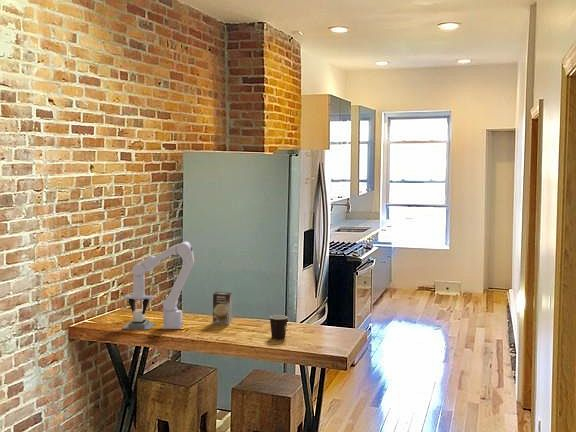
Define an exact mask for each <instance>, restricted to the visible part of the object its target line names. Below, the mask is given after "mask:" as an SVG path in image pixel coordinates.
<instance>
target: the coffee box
mask: <svg viewBox="0 0 576 432" xmlns="http://www.w3.org/2000/svg"><path fill="white" fill-rule="evenodd" d="M212 296H213V297H212V322H211V323H212V325H220V326H221V325H222V326H230V325H231V323H232V304H233V301H232V299H233V297H232V296H233V292H228V291H227V292H226V291H214V292H213V294H212Z"/></svg>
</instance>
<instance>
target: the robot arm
mask: <svg viewBox="0 0 576 432" xmlns="http://www.w3.org/2000/svg"><path fill="white" fill-rule="evenodd" d="M177 255H178V256H180V258H181V259H182V261H183V264H182V267H181V269H180V271H179V272H178V275H177V277H176V279H175V281H174V284H173V285H172V288H171V290H170V292H169V294H168V296H167V297H166V299H164V300H163V302H162V307H163V309H162V313H163V314H162V315H163V317H162V319H163V323H162V326H161V327H160V329H163V330H164V329H167V330H168V329H169V330H173V329H174V330H181V328H182V327H183V310H181V309H178V306H177V305H178V304H179V297H180V294H181V292H182V291H183V288H184V286H185V283H186V281H187V279H188V277H189V275H190V274H191V273H190V272H191V271H192V268H193V267H194V264H195V254H194V247H193V246H192V244H191V243H190V242H189V241H186V240H185V241H182V242H180V243H177V244H174V245H171V247H169V248H167V249H165V250H163V251H162V252H161V253H158V254H157V255H156V256H155V255H148V256H146V258H145V259H143V260H140V261H139V263H137V264H135V265H134V266H132V269H131V272H132V274H133V275H132V276H133V279H132V282H133V283H132V285H133V287H132V288H133V289H132V294H129V295H127V294H125V295H124V296H123V300H125V301H126V300H127V302H128V305H129V306H130V308H131V309H130V310H131V312H132V314H133V311H134V310H135V309H136V300H137V301H140V300H141V301H142V309H143V314H145V315H146V311H147V307H148V304H149V302H150V301H154V300H155V299H154V295H146V294H145V293H146V288H145V287H146V284H145V283H146V280H145V279H146V278H145V273H146V272H148V271H150V270H152V269H154V268H156V267H158V266H159V263H160V262H161V261H163V260H164V259H166V258H168V257H170V256H177Z"/></svg>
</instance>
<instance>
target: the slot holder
mask: <svg viewBox="0 0 576 432" xmlns="http://www.w3.org/2000/svg"><path fill="white" fill-rule="evenodd" d="M154 324H155V325H156V322H153V321H152V322H150V319H148V318H147V319H146V318H145V319H144V320H143V321H142V322H133V319H132V320H131V321H127V322H126V324H124V326H122V327H121V330H124V329H134V331H151V330H152V328H153V327H154V326H155V325H154Z"/></svg>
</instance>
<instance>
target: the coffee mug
mask: <svg viewBox="0 0 576 432" xmlns="http://www.w3.org/2000/svg"><path fill="white" fill-rule="evenodd" d="M269 321H270V323H269V324H270V330H271V331H270V332H271V333H270V335H271V339H273V340H284V339H285V338H286V335H287V334H286V333H287V325H288V316H286V315H283V314H282V315H281V314H280V315H279V314H278V315H276V314H275V315H271V316H269Z"/></svg>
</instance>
